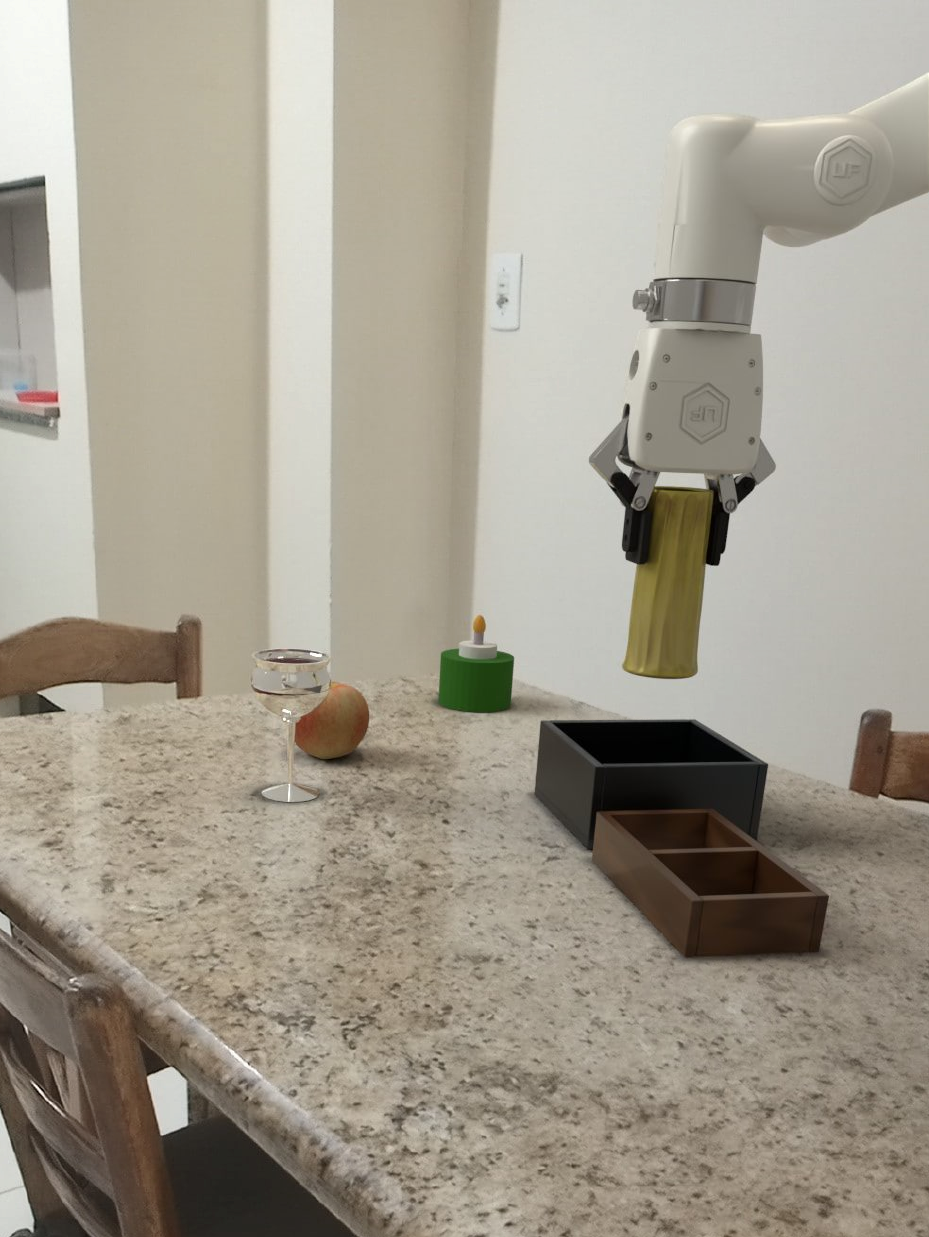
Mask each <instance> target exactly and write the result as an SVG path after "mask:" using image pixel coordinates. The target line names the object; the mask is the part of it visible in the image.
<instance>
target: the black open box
mask: <svg viewBox="0 0 929 1237" xmlns="http://www.w3.org/2000/svg"><path fill="white" fill-rule="evenodd" d="M539 723H540V725H539V735H538V748H537V759H536V770H535V772H536V773H535V782H534V783H535V784H534V785H535V786H534V796H535V797H536V798H537V799H538V800H539V801H540V802H541V803H542V804H543V806H545V807H546V808H547V809H548V810H549V812H551V814H553V815H554V816H555V818H557V820H559V821H560V823H561V824H562V825H564V827H565V828H566V829H567V830H568V831H569V832H570V833H571V834H572V836H574V837H575V839H577V841H578V842H580V843H581V845H582V846H584V847H585V849H587V850H593V845H594V835H595V825H596V815H597V812H602V811H606V812H607V811H639V810H683V809H714V810H715V811H717V812H718V813H719V814H721V815H722V816H723V817H725V818H726V819H727V820H729V821H730V822H731V823H733V824H734V825H735V826H737V827H738V828H739V829H741V830H742V831H743V832H745V833H746V834H747V835H749V836H750V837H751V838H753V839H754V840H755V841H757V842H758V836H759V829H760V822H761V816H762V809H763V802H764V797H765V788H766V782H767V775H768V770H769V764H768V763H767V762H765V761H764V760H762V759H761V758H759V757H758V756H756V755H754V754H752V753H751V752H749V751H747V750H746V749H744V748H742V747H741V746H739V745H738V744H736V743H735V742H733V741H732V740H730V739H728V738H727V737H725V736H723V735H721V734H720V733H718V732H717V731H715V730H714V729H712V728H710V727H709V726H707V725H705V724H704V723H703V722H700V721H698V720H697V719H694V718H693V719H692V718H691V719H688V718H687V719H684V718H682V719H681V718H680V719H679V718H678V719H677V718H676V719H674V718H673V719H556V720H555V719H551V720H548V719H547V720H544V719H543V720H540V722H539Z"/></svg>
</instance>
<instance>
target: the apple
mask: <svg viewBox="0 0 929 1237" xmlns="http://www.w3.org/2000/svg"><path fill="white" fill-rule="evenodd" d="M366 700H367V699H366V698H365V697H364V695H363V694H362V693H361V691H359V690H358V689H357V688H355V687H353V686H351V685H347V684H345V683H341V682H337V681H331V685H330V691H329V694H328V696H327V699H326V700H325V701H324V702H323V703H322V704H321V705H320V706H319V707H318V708H317V709H316V710H315V711H313V712H311V713H309V714H307V715H304V716H302V717H301V719H300V721H299V722H297V723H296V725H295V744H296V746H297V747H298V748H299V749H300V750H301V751H303V753H306V754H308V755H310V756H313V757H315V758H318V759H320V760H330V759H331V760H332V759H338V758H341V757H343V756H347V755H349V754H351V753H353V752H354V751H355V750H356V749H357V748H358V746H360V744H361V743H362V741H363V740H364V738H365V736H366V734H367V733H368V729H369V725H370V709H369V706H368V705H369V704H368V702H367V701H366Z"/></svg>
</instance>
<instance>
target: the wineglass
mask: <svg viewBox="0 0 929 1237" xmlns="http://www.w3.org/2000/svg"><path fill="white" fill-rule="evenodd" d="M251 657H252V659H253V661H254V663H255V667H254V668H253V670H252V673H251V677H250V683H251V684H250V687H251V690H252V692H253V694H254V697H255V698H256V699H257V700H258V701H259V703H260V704H262V706H263V707H264V708H265V709H266V710H267V711H269V712H270V713H273V714H276V715H277V716H278V717H280V719H281V720H282V722H284V723H285V724H286V727H285V728H286V748H287V749H286V755H287V783H284V784H283V783H282V784H277V785H273V786H269V787H266V788H264V789H263V790H262V791H261V795H262V796H263V797H265V798H266V799H268V800H272V801H277V802H283V803H298V802H299V803H300V802H306V801H311V800H313V799H316V798H317V797H319V794H320V793H319V791H318V790H317V789H315V788H312V787H309V786H305V785H301V784H295V783H293V781H294V764H295V762H294V761H295V744H296V743H295V725H296V723H297V722H299V721H300V719H301V717H302V716H304V715H307V714H309V713H311V712H313V711H315V710H316V709H317V708H318V707H319V706H320V705H321V704H322V703H323V702H324V701H325V700H326V699H327V696H328V694H329V691H330V685H331V682H332V676H331V672H330V671H329V669H328V665H329V663H330V661H331V658H332V656H331V655H330V654H329V653H326V652H323V651H320V650H314V649H308V648H306V649H305V648H294V647H293V648H292V647H290V648H289V647H284V648H283V647H282V648H281V647H280V648H278V647H277V648H268V649H267V648H266V649H262V650H261V649H260V650H257V651H254V652H253V653H251Z"/></svg>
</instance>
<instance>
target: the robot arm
mask: <svg viewBox="0 0 929 1237" xmlns="http://www.w3.org/2000/svg"><path fill="white" fill-rule="evenodd" d="M662 174H663V176H662V185H661V196H660V205H659V214H658V223H657V224H658V225H657V235H656V242H655V243H656V244H655V252H654V253H655V254H654V262H653V274H652V281H650V282H649V286H648V287H646V288H644V289H635V291H634V293H633V295H632V308H633V310H636V311H637V310H639V311H642V312H643V313H645V315H646V316H645V321H646V322H647V321H648V323H647V328H640V329H639V331H638V334H637V336H636V337H637V338H636V341H635V344H634V347H633V350H632V354H631V358H630V363H629V367H628V370H627V375H626V379H625V385H624V390H623V393H622V394H623V395H622V400H621V405H620V407H621V408H620V413H619V418H618V419H619V420H618V423H617V425H616V426H615V427H614V428H613V429H612V430H611V432H609V434H608V435H607V436H606V437H605V438H604V439H603V441H602V442H601V443H600V444H599V445H598V446H597V447H596V449H595V450H594V451H592V453H591V454H590V456H588V464H589V465H590V466H591V467H592V468H593V470H594V471H595V472H596V473H597V474H598V475H599V476H600V477H601V478H602V479H603V480H604V481H605V482H606V484H607V486H608V487H609V488H610V489H611V491H612V493H614V495H615V496H616V497H617V499H618V500H619V503H620V504H621V506H622V507H623V508H624V516H623V517H624V518H623V526H622V527H623V528H622V536H621V538H622V539H621V549H622V551H623V552H624V553H625V554H624V556H625V560H626V561H628V562H630V563H633V564H636V565H637V564H645V563H647V561H648V554H649V545H650V536H651V527H652V518H653V514H652V513H651V511H648V501H649V499H650V496H651V494H652V491H653V489H654V487H655V486H656V485H657V481H658V479H659V477H660V474H661V473H677V474H701V475H703V477H704V483H705V489H709V490H713V492H714V497H713V504H712V514H711V523H710V532H709V540H708V548H707V554H706V565H708V566H710V567H718V566H719V565H720V563H721V556H722V555H723V554H724V553H725V551H726V547H727V541H728V533H729V532H728V531H729V526H730V524H729V523H730V517H731V514H733V513H735V512H736V511H737V509H738V507H739V506H738V505H739V504H740V503H742V501H744V500H745V499H746V498H747V497H748V496H749V495H750V494H751V493H752V492H753V491H754V489H755V488H756V486H758V485H760V484H761V483H762V482H764V481H765V480H766V479H767V478H768V477H769V476H771V475H772V474H773V473H774V472H775V471H776V468H777V464H776V462H775V460H774V458H773V457H772V455H771V454H770V452H769V450H768V449H767V446H766V445H765V444H764V442H763V440H762V438H761V432H762V418H763V401H764V357H763V343H762V334H760V333H751V330H752V329H751V328H752V322H753V315H754V307H755V299H756V293H757V292H756V291H757V283H758V277H759V276H758V275H759V270H760V269H759V267H760V262H761V261H760V260H761V254H762V244H763V237H764V236H765V237H766V238H767V239H768V240H769V241H772V242H773V243H775V244H777V245H780V246H782V247H786V248H787V247H788V248H803V247H807V246H811V245H814V244H816V243H818V242H821V241H824V240H829V239H831V238H835V237H838V236H841V235H843V234H846V233H848V232H850V231H853V230H854V229H856V228H857V227H859V226H861V225H863V224H864V223H865V222H866V221H868V220H869V219H870V218H872V217H873V216H875V215H878V214H880V213H882V212H885V211H887V210H890V209H892V208H895V207H897V206H899V205H902V204H904V203H906V202H908V201H911V200H913V199H915V198H918V197H921V196H923V195H925V194H928V193H929V71H927V72H925V73H924V74H923V75H921V76H919V77H917V78H916V79H914V80H912V81H910V82H908V83H906V84H904V85H903V86H901V87H899V88H896V89H894V90H893V91H890V92H889V93H887V94H885V95H882V96H881V97H879V98H877V99H874V100H873V101H870V102H869V103H866V104H864V105H862V106H860V107H858V108H856V109H854V110H851V111H850V112H847V113H826V114H816V115H808V116H800V117H799V116H798V117H788V118H787V117H786V118H776V119H773V118H772V119H760V118H758V117H755V116H751V115H748V114H747V115H746V114H739V113H703V114H697V115H692V116H689V117H686V118H683V119H682V120H680V121H678V122H677V123H676V124H675V125H674V126H673V128H672V129H671V130H670V133H669V135H668V139H667V142H666V149H665V156H664V165H663V173H662ZM616 458H617V460H618V461H619V462H620V463H621V464H623V465H624V466H627V467H630V468H631V470H630V473H629V475H628V474H626V473H625V472H623V470H622V469H621V468H620V466H618V464H617V462H616ZM734 475H736V476H735V477H734Z"/></svg>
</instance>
